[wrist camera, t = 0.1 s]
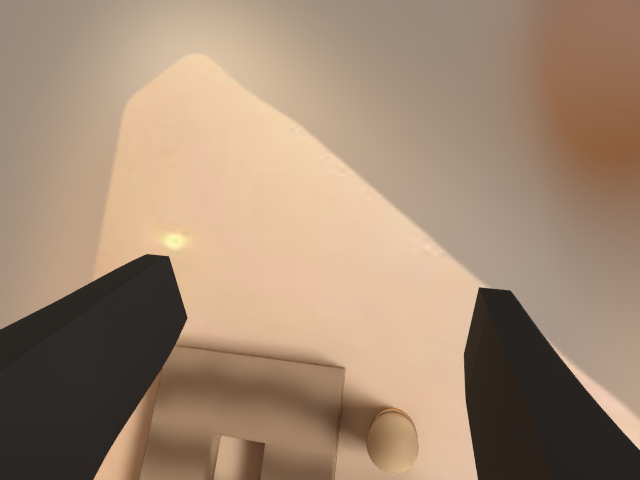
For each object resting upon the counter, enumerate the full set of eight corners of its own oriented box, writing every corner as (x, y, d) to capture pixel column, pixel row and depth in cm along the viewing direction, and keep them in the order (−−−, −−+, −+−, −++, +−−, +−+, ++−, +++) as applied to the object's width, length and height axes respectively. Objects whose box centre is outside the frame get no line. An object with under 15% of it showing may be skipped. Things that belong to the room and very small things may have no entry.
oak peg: (414, 459, 36) (417, 478, 31) (369, 451, 37) (363, 468, 32) (417, 411, 37) (420, 420, 32) (373, 404, 38) (368, 413, 33)
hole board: (321, 610, 35) (315, 629, 32) (136, 562, 38) (119, 575, 36) (345, 368, 40) (342, 368, 37) (179, 345, 43) (167, 345, 41)
